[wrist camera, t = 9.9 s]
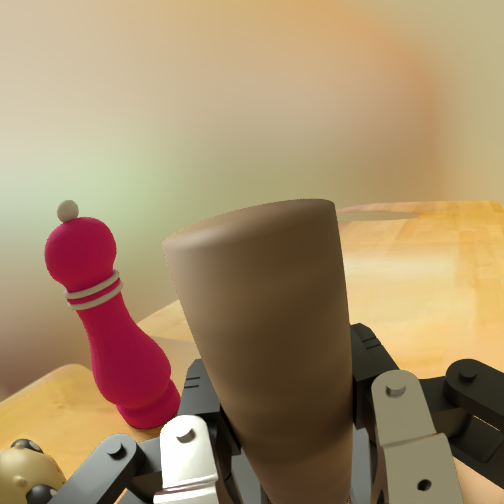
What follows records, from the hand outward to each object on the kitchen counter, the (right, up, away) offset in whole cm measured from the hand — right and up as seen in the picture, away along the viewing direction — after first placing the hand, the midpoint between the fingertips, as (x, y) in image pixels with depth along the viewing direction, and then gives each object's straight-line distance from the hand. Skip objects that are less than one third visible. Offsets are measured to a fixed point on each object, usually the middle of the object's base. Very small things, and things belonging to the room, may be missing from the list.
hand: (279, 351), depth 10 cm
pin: (+2, -7, -1) cm, 7 cm away
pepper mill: (-11, -11, +14) cm, 21 cm away
